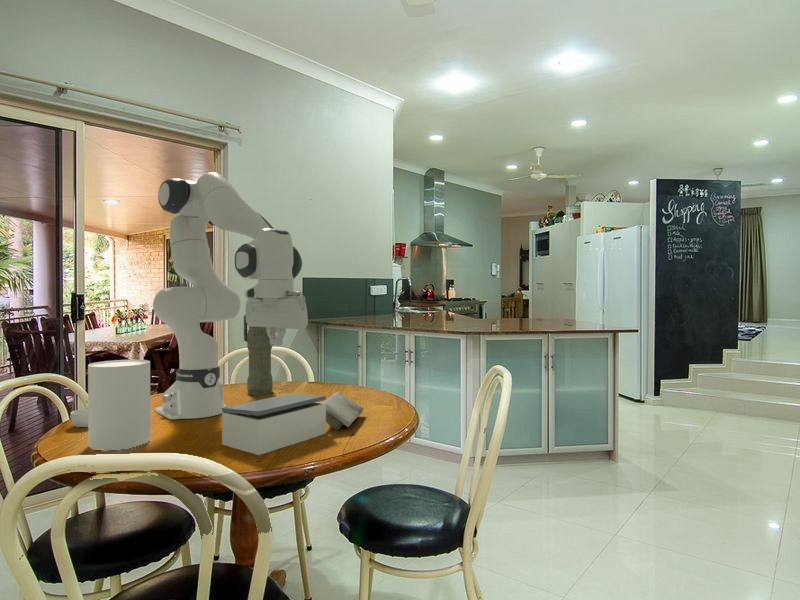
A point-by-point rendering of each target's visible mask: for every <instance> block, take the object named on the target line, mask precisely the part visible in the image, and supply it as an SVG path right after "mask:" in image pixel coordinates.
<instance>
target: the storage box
mask: <svg viewBox="0 0 800 600" xmlns="http://www.w3.org/2000/svg"><path fill="white" fill-rule="evenodd" d="M326 434H327V422H326V404H324V403H322V402H320V401H318V402H314V403H310V404H306V405H301V406H297V407H293V408H289V409H285V410H281V411H276V412H272V413H268V414H264V415H260V416H255V415H246V414H237V413H228V412H222V413H221V445H222V446H225V447H226V446H227V447H228V448H233V449H236V450H240V451H243V452H246V453H249V454H253V455H257V456H261V455H264V454H268V453H270V452H273V451H276V450H279V449H282V448H285V447H289V446H293V445H295V444H298V443H301V442H305V441H308V440H310V439H314V438H316V437H320V436H322V435H326Z"/></svg>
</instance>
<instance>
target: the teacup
mask: <svg viewBox="0 0 800 600" xmlns="http://www.w3.org/2000/svg"><path fill="white" fill-rule="evenodd" d="M70 420H71V423H72V424H73V425H74V427H75V428H77V427H87V428H88V408H82V409H76V410H73V411H71V412H70Z"/></svg>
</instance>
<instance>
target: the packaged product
mask: <svg viewBox="0 0 800 600" xmlns="http://www.w3.org/2000/svg"><path fill="white" fill-rule="evenodd" d="M321 403H324V404H326V424H328V426H329V427H330V428H332V429H335V430H337V431H338V430H340V429H341V427H343V426H345V427H347V428H349V427H350V426H351V425H352V424H353V422H354V421H355V420H356V419H357V418H358V417H359V416H360V415H362V413H363V411H364V407H363V406H361V405H359V404H358V403H357V402H355V401H353V400H352V399H351V398H349V397H347V396H346V395H344V394H343V393H342V392H340V391H336V392H335V393H333V394H331V395H330V396H329V397H327V398H326V400H322V401H321Z"/></svg>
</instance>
